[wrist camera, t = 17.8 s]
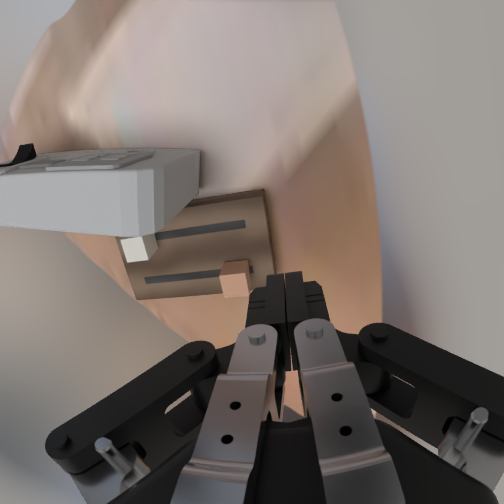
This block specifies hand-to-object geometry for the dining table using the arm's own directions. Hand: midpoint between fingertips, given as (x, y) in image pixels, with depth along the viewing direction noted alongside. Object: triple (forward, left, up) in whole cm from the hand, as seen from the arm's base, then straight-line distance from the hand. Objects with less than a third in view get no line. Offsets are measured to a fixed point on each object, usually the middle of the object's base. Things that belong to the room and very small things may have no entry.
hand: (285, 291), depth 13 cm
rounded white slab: (-6, -23, -27) cm, 36 cm away
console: (+7, -12, -27) cm, 30 cm away
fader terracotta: (+10, -6, -23) cm, 26 cm away
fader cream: (+4, -18, -23) cm, 29 cm away
